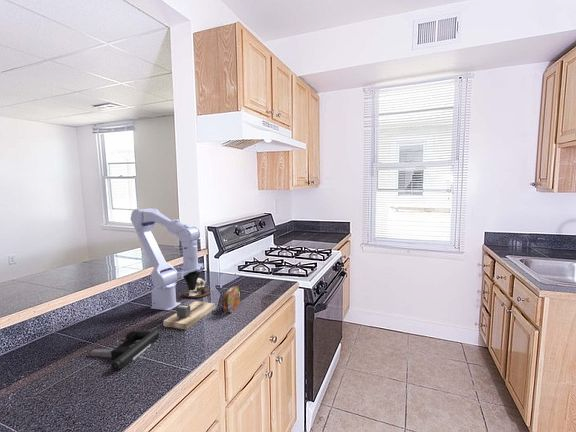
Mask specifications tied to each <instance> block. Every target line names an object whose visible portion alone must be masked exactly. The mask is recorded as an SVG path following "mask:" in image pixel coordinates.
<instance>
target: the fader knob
mask: <svg viewBox="0 0 576 432" xmlns="http://www.w3.org/2000/svg"><path fill="white" fill-rule="evenodd" d="M175 308H176V313H177V316H178V317H185V318H186V317H187V316H189V315H190V314H191V312H190V306H189V304H188V305H187V304H179V305H178V306H176V307H175Z"/></svg>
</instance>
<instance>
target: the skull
mask: <svg viewBox="0 0 576 432" xmlns="http://www.w3.org/2000/svg"><path fill="white" fill-rule="evenodd" d="M206 287H207V283H206V281H205V280H204V279H202V278H200V277H198V279H197V283H196V287H195V290H188V291H187V292H184V293H183V296H184V297H187V298H193V299H194V298H201V297H202V298H203V297H207V296H208V295H210V293H211V292H210V291H209V290H207V291H206Z"/></svg>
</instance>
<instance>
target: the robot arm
mask: <svg viewBox="0 0 576 432" xmlns="http://www.w3.org/2000/svg"><path fill="white" fill-rule="evenodd" d="M130 221H131V224H132V226H133V227H134V229H135V232H136V235H137V237H138V239H139V240H140V242H141V245H142V246H143V249H144V251H145V254H146V255H147V258H148V260H149V261H150V263H151V265H152V267H153V269H152V271H151V272H150V276H151V279H152V284H153V286H154V287H152V290H151V307H150V309H153V310H161V311H171V310H173V309H174V308H176V307H178V306H180V305H182V303H181V302H180V301H179V302H177V296H176V295H177V294H176V285H177V282H178V281H179V278H184V280H185V282H186V284H187V288H188V291H190V290H195V287H196V283H197V279H198V278H200V277H199V276H200V275H201V269H204V263H203V262H201V263H200V262H199V254H198V253H199V252H198V240H199V239H200V236H201V232H200V230H199V228H197V226H189V224H185V223H183V222H181V220H180V219H179V218H178V219H170V218H169V217H167V216H166V215H164V214H163V213H161V212H160V210H159V209H157V208H155V207H150V208H149V207H148V208H139V209H137V208H136V209H133V210H132V212H131V214H130ZM156 223H157V224H158V225H161V226H163V227H165V228H166V229H167V232H169V233H170V234H172V235H174V236H175V237H178V239H179V241H180V243H181V244H180V245H181V247H182V260H183V263H182V264H183V268H182V269H180V270H179V271H178V270H176V268H175V267H174V265H172V264H171V263H168V262H167V261H166V259H165V257H164V255H163V253H162V251H161V249H160V247H159V245H158V243H157V241H156V239H155V236H154V235H153V232H152V229H153V228H154V227H155V225H156Z"/></svg>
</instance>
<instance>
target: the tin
mask: <svg viewBox="0 0 576 432" xmlns="http://www.w3.org/2000/svg"><path fill="white" fill-rule="evenodd" d="M241 299H242V291H241V288H240V286H239V285H236V286H235V285H234V286H231V287H230V288H228V289H227V290H226V292H225V293H223V296H222V308H223V309H222V310H223V312H224V313H233V312H234V311H235V310H236V309H237V308H238V307H239V305H240V304H241V301H242V300H241Z"/></svg>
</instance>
